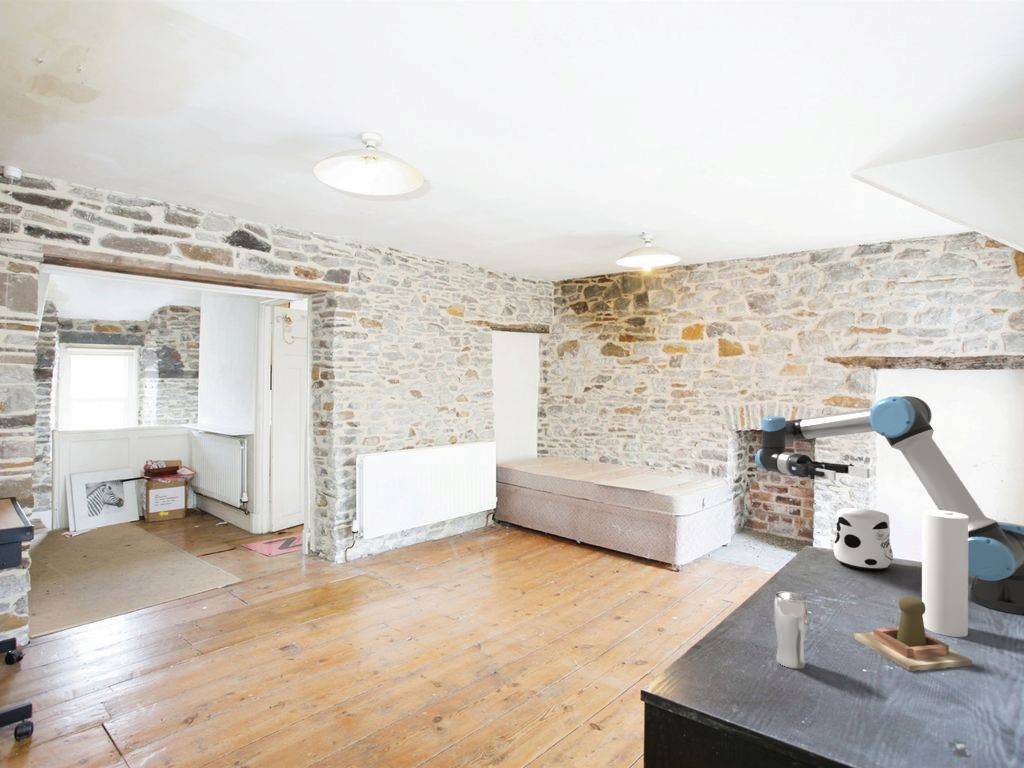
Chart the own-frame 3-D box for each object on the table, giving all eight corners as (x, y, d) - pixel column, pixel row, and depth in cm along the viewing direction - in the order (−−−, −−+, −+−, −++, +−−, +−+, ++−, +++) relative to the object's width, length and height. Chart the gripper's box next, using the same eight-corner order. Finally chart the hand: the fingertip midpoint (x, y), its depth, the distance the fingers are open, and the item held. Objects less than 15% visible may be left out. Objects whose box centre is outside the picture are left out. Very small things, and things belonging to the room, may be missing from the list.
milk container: (904, 574, 186) (905, 519, 185) (851, 574, 186) (851, 519, 186) (872, 557, 203) (872, 507, 203) (823, 557, 203) (823, 507, 203)
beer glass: (794, 673, 124) (794, 604, 123) (766, 659, 130) (766, 594, 130) (814, 665, 127) (814, 598, 127) (786, 652, 133) (787, 588, 133)
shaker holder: (910, 633, 142) (910, 620, 142) (971, 665, 127) (971, 651, 127) (854, 638, 140) (854, 625, 140) (909, 671, 124) (909, 657, 124)
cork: (924, 642, 135) (924, 596, 135) (930, 653, 130) (930, 605, 130) (894, 637, 138) (894, 592, 138) (898, 647, 132) (899, 601, 132)
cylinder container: (976, 638, 140) (977, 517, 140) (934, 635, 141) (935, 515, 141) (953, 622, 149) (954, 508, 149) (914, 619, 151) (914, 507, 150)
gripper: (823, 473, 196) (881, 484, 176) (766, 478, 188) (820, 489, 168) (823, 451, 196) (881, 460, 176) (766, 455, 188) (820, 464, 168)
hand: (851, 474), depth 172 cm, fingers open, 13 cm apart
